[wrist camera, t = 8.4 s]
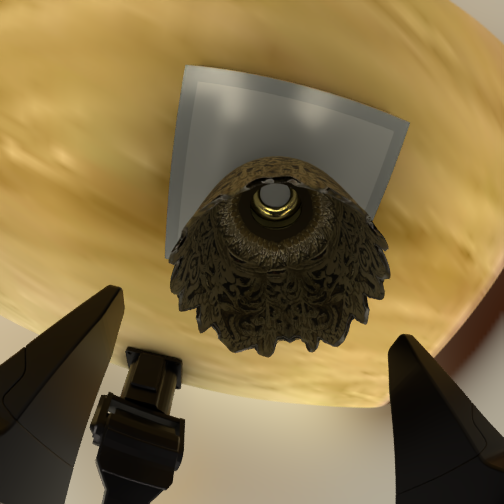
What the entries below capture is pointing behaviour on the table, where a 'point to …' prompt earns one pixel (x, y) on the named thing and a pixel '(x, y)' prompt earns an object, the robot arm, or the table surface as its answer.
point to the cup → (279, 259)
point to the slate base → (274, 139)
